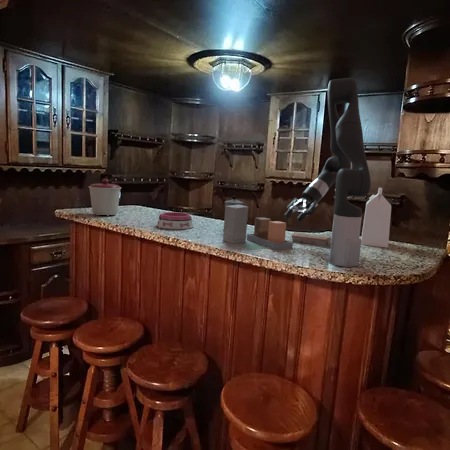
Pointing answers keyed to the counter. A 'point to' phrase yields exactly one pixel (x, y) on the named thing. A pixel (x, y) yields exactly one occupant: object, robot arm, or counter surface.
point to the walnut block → (261, 228)
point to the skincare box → (235, 223)
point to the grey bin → (270, 243)
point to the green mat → (252, 246)
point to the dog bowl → (175, 221)
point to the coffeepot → (233, 203)
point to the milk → (376, 221)
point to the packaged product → (311, 240)
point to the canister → (104, 198)
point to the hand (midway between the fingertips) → (291, 219)
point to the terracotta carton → (276, 231)
